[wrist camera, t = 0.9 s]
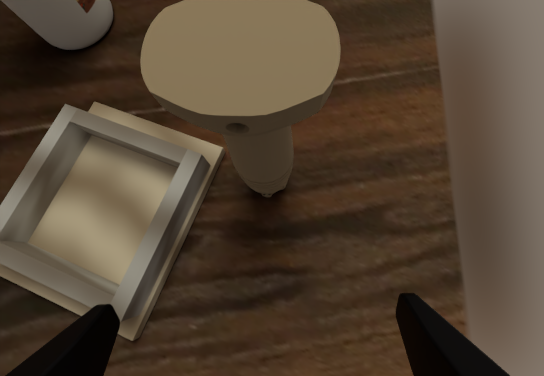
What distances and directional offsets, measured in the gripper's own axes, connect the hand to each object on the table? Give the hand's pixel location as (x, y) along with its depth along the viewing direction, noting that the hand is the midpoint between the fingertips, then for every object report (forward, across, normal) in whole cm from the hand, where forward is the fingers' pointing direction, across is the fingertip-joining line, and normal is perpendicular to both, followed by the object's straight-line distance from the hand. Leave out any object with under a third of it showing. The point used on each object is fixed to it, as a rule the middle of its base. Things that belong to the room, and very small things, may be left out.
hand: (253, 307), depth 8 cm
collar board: (+14, +13, +4) cm, 19 cm away
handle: (+15, 0, +3) cm, 16 cm away
